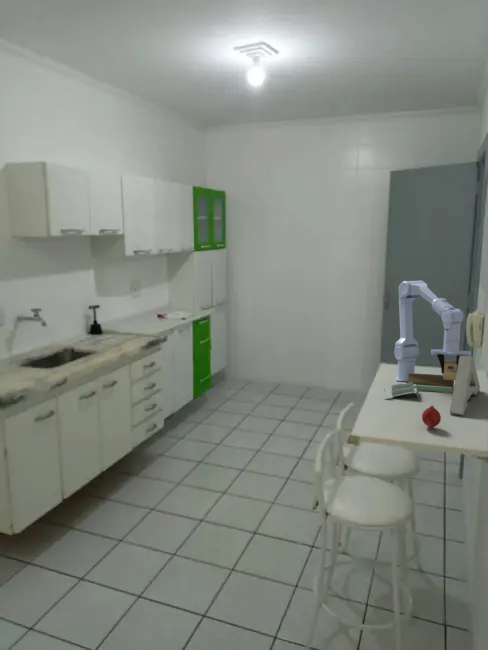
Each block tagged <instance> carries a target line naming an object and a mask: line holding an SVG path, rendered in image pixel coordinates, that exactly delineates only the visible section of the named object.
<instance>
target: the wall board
mask: <svg viewBox="0 0 488 650" xmlns="http://www.w3.org/2000/svg"><path fill="white" fill-rule="evenodd" d="M409 382H413V384H419V385H433V386H447V387H451V388H453V389H454V385H455V380H445V379H443V374H434V373H433V374H432V373H431V374H430V373H415V372H414V373H409V378H408V383H409ZM408 383H407V384H408ZM411 384H412V383H411Z"/></svg>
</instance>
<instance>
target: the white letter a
mask: <svg viewBox="0 0 488 650" xmlns="http://www.w3.org/2000/svg"><path fill="white" fill-rule="evenodd" d="M480 388H481V386H480V381H479V377H478V374H477V368H476V365H475V361H474V357H473V356H471V357H470V356H461V355H460V357H459V363H458V368H457V374H456V379H455V380H454V388H453V393H452V396H451V403H450V409H449V413H450V415H455V416H461V417H464V415H465V411H466V409H467V403H468V401H469V399H470V398H471V396H475V395H477V396H478V394H479V391H480ZM477 393H478V394H477Z"/></svg>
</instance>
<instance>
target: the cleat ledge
mask: <svg viewBox="0 0 488 650" xmlns="http://www.w3.org/2000/svg"><path fill="white" fill-rule="evenodd" d="M416 385H418V391H419V392H420V391H423V392H424V391H425V392H435V393H449V394H453V391H454V388H451V387H447V386H433V385H419V384H416Z"/></svg>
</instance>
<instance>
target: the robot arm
mask: <svg viewBox="0 0 488 650" xmlns="http://www.w3.org/2000/svg"><path fill="white" fill-rule="evenodd" d="M419 297H421V298H423V299H424V300H425V301H426V302H428V303H430V304H431V309H432V310H433V311H434V312H436V313H437V315H439V316H440V317H441V321H442V323H443V325H442V326H443V329H444V333H443V347H442V348H443V349H441V348H440V349H437V348H436V349H435V348H434V349H432V348H431V350H430V354H431V355H430V356H437V360H438V361H439V365H440V369H441V371H440V372H441V375H443V374H444V361H445V359H446V358H445V356H447V357H448V356H451V357H456V358H455V359H456V360H455V361H456V363H457V368H458V363H459V357H460V355H461V356H470V357H472V351H471V350H460V339H461V324H462V323H463V322H464V320H465V313H464V311H463V310H462V309H461V308H455V307H454V306H453V305H451V304H450V303H449V302H448V301H447V299H446V298H442V297H438V296H437V295H436V294H435V293H434V292H433V291H432V290H431V289H430V288H429V287H428V283H426V282H425V281H424V280H404V281H402V282H401V283H400V284H399V285H398V307H399V308H398V309H399V334H400V336H399V337H400V338H399V339H398V340H397V341H396V342H395V343H394V345H395V346H394V351H393V355H394V357H395V359H396V360H397V370H396V371H397V372H396V373H397V374H396V375H395V381H396V382H397V381H398V382H408V378H409V373H415V367H416V361H417V358H419V356H420V354H421V353H420V348H419V343H418V341H417V340H416V339H415V338H414V325H413V324H414V323H413V322H414V321H413V302H414V301H415V300H416V299H418V298H419ZM456 374H457V373H456Z"/></svg>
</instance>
